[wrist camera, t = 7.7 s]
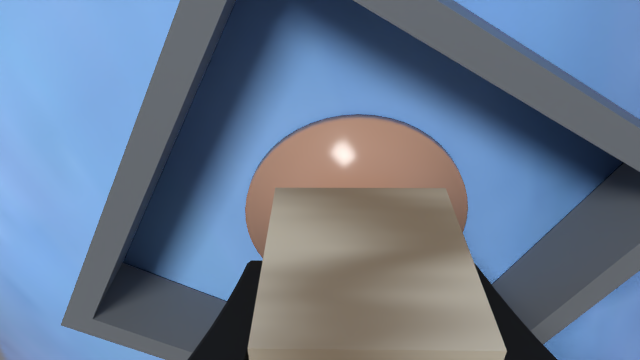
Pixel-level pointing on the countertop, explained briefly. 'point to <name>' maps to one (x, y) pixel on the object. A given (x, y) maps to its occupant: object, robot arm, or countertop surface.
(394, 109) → the countertop surface
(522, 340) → the robot arm
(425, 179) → the coaster
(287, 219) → the birch block
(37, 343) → the countertop surface
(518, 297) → the low pen
